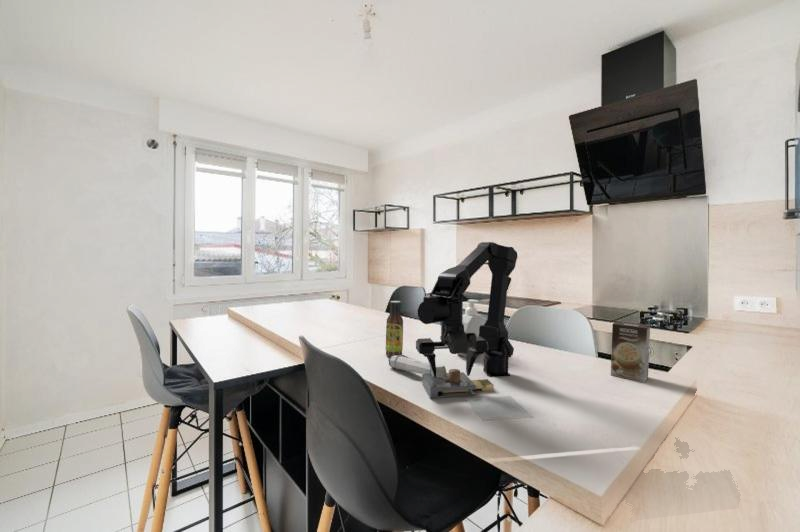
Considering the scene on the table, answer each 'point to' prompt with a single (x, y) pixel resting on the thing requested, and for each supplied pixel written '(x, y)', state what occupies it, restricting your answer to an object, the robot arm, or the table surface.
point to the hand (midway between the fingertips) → (451, 376)
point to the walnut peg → (454, 375)
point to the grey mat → (498, 408)
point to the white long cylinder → (417, 366)
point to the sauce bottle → (394, 330)
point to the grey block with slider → (453, 386)
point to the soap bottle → (472, 320)
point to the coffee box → (630, 350)
